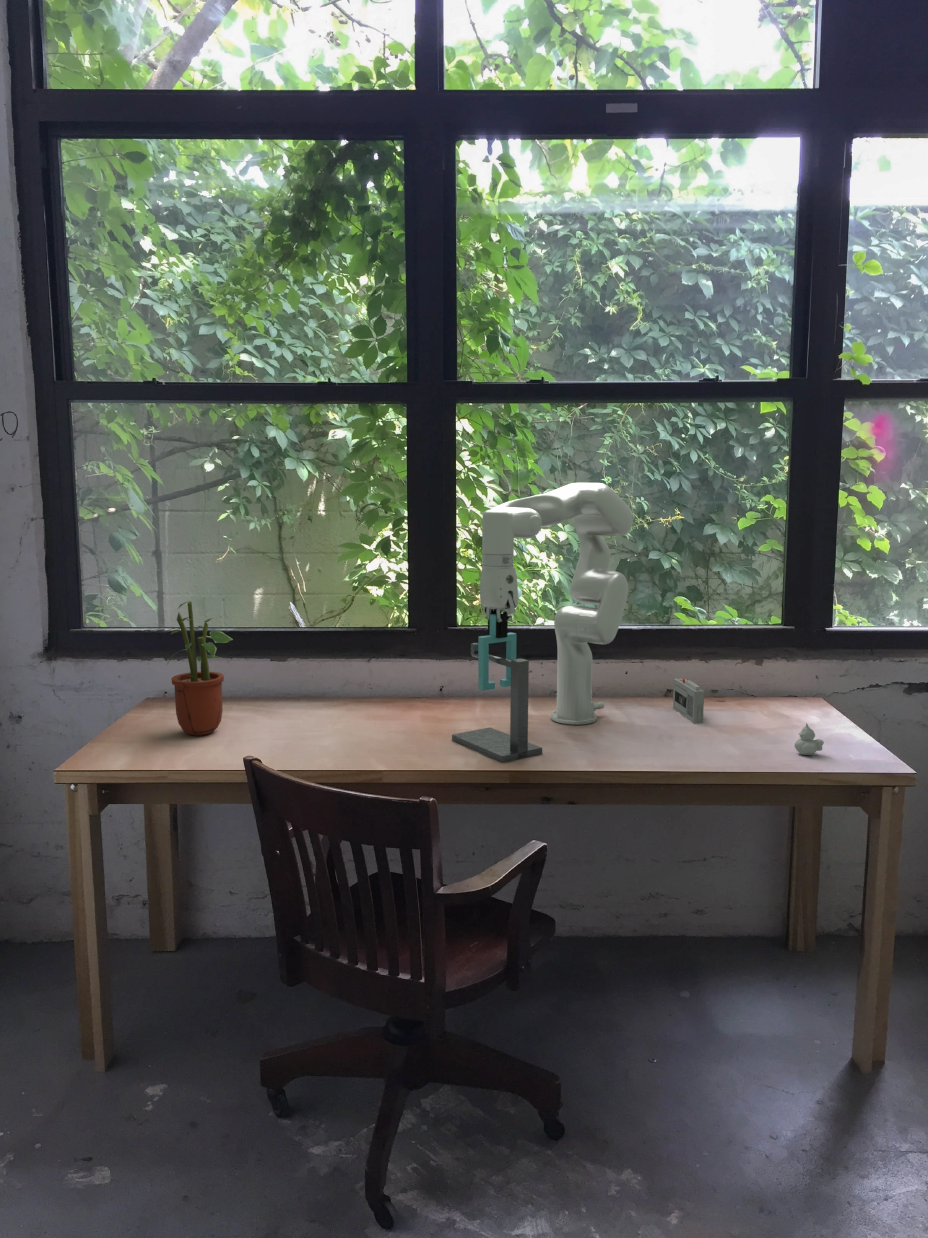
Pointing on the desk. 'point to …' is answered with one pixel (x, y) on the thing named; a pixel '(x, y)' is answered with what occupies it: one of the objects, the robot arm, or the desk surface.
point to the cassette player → (688, 700)
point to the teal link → (484, 656)
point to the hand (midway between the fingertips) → (497, 636)
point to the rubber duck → (808, 742)
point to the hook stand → (517, 742)
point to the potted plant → (199, 683)
